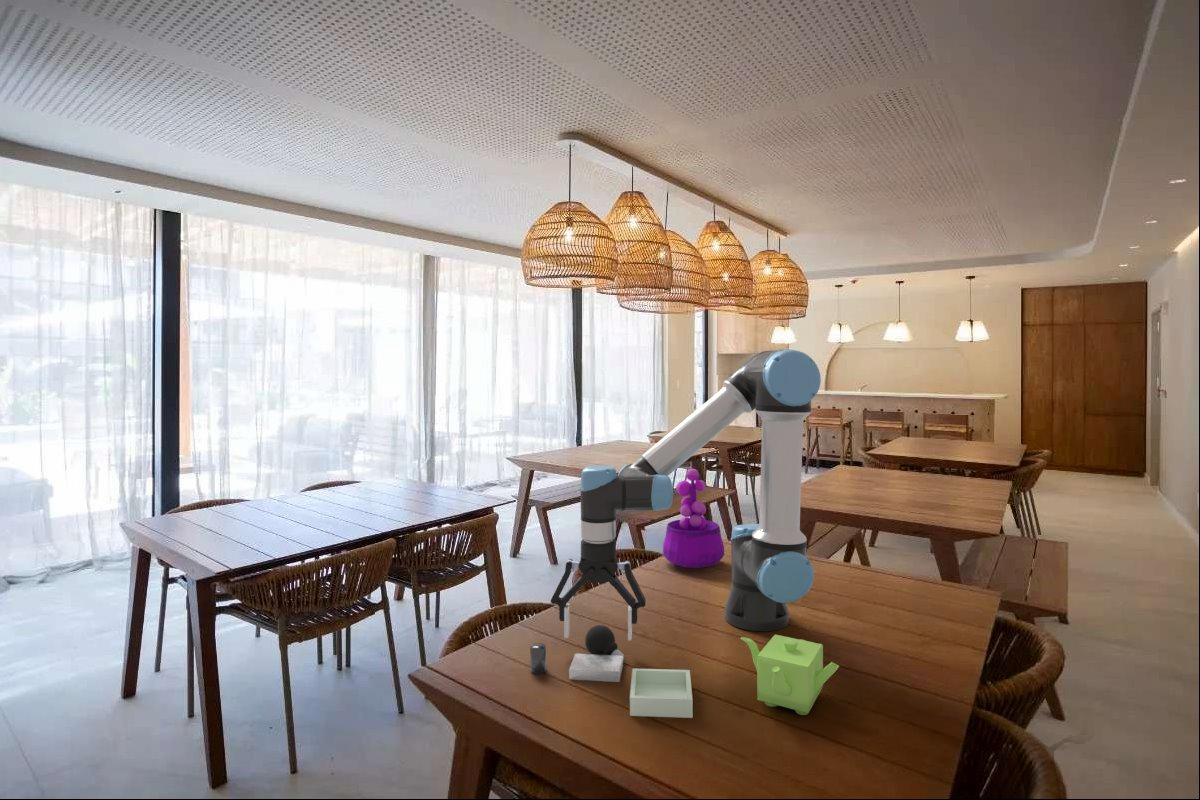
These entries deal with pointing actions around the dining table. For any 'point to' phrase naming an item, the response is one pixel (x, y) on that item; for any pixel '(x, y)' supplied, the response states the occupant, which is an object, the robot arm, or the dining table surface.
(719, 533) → the decorative plant
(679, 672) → the tray
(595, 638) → the light bulb
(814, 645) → the kettle
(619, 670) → the white stone flat block
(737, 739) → the dining table surface
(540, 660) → the cylinder
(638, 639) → the dining table surface
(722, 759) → the dining table surface
